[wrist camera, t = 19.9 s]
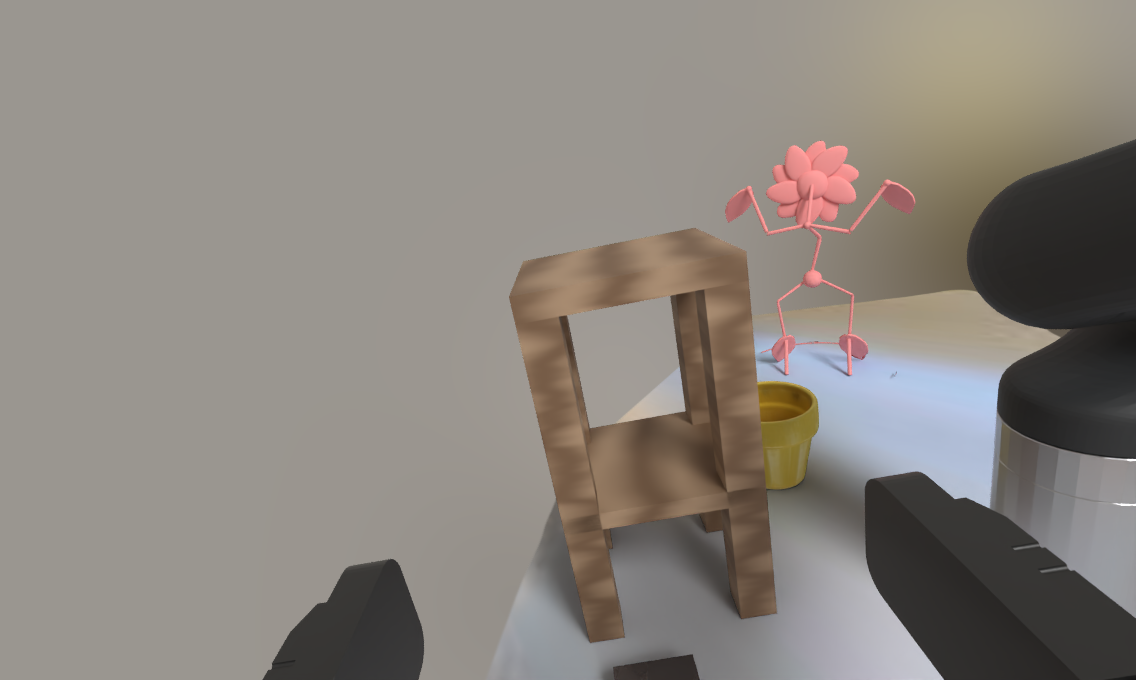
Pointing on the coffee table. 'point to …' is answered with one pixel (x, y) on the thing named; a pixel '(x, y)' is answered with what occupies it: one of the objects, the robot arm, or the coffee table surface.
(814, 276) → the figurine
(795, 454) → the plant pot
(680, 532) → the coffee table surface
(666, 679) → the brushed grey block
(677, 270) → the walnut stand
